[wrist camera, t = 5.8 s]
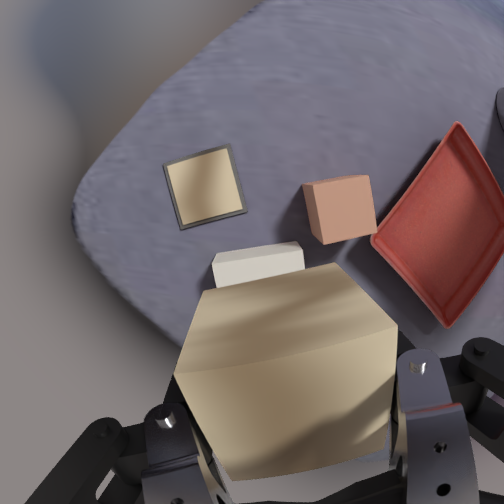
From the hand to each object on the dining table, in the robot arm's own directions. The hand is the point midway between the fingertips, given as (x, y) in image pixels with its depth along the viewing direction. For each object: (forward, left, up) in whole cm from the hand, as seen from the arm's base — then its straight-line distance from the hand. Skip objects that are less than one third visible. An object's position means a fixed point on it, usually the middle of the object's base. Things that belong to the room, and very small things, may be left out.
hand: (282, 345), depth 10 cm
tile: (+4, -7, -18) cm, 20 cm away
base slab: (+1, +4, -18) cm, 19 cm away
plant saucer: (-22, +4, -19) cm, 29 cm away
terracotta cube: (-7, -2, -18) cm, 20 cm away
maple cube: (0, 0, -1) cm, 1 cm away
